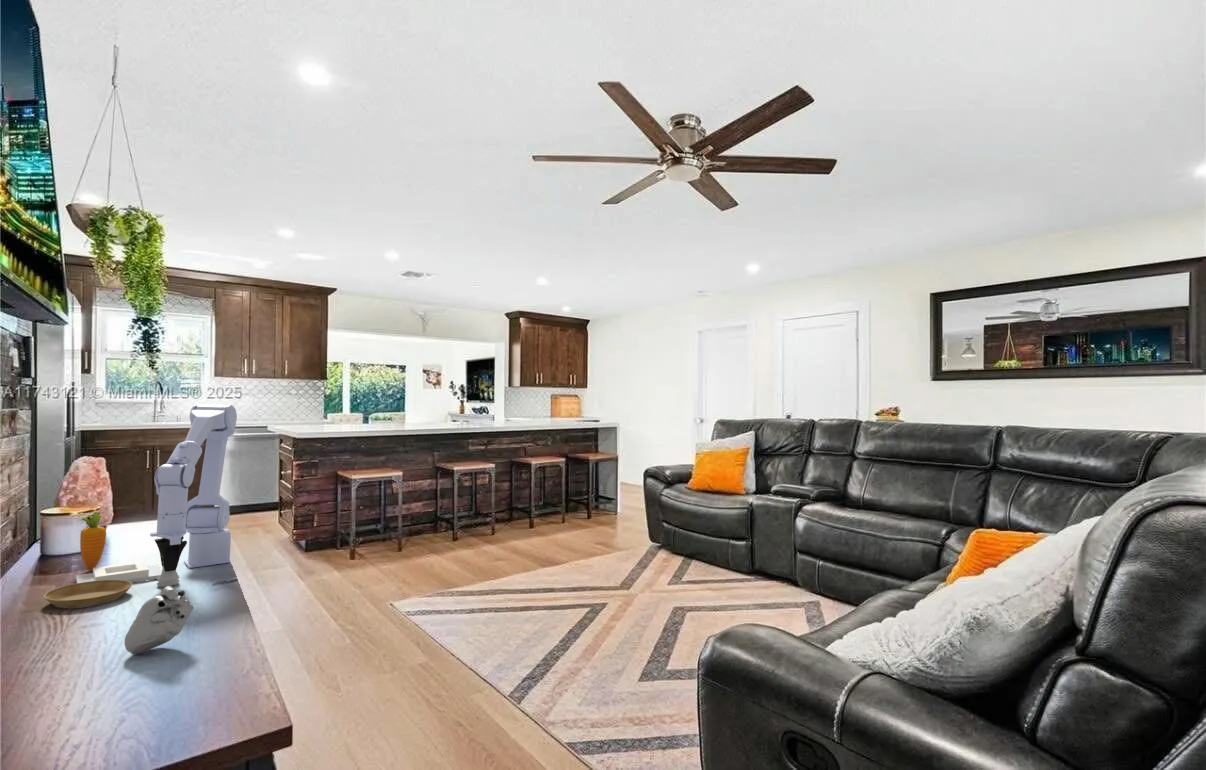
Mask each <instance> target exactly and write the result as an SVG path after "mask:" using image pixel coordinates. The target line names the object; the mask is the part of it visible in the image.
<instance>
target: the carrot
mask: <svg viewBox="0 0 1206 770" xmlns="http://www.w3.org/2000/svg"><path fill="white" fill-rule="evenodd" d="M101 519H102V515H101V514H99V512H96V511H95V512H93V515H91V516H89V519H88V518H87V517H82V518H81V520H82V521H85V523H87V524H88V527H85V528H83V529H82V530H80V533H79V534H80V537H79V538H80V539H79V540H80V541H79V547H80V554H81V559H82V562H83V564H84V566H85V567H86V569H87V570H88V571H90V572H93V568H96V567H97V565H98V564H99V562H100V559H101V558H102V555H103V551H104V548H105V543H106V535H107V529H106V528H105V527H104V526H100V525H98V524H99V522H100V520H101Z"/></svg>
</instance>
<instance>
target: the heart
mask: <svg viewBox="0 0 1206 770" xmlns="http://www.w3.org/2000/svg"><path fill="white" fill-rule="evenodd" d="M194 609H195V607H194V605H193V604H192V603H191V601H190V599H188V597H186V591H185V590H183V589H182V590H179V591H176V589H175V588H174V586H168V587H163V589H162V591H161V592H160V594H159V595H155V596H154V597H152V598H150V599H148V600H146V601H144V603H143V604H142V606H141V608H140V609H139V610H138V613H137V615H136V617H135V619H134V620H133V621H132V624H131V625H130V627H129V629H128V631H127V633H126V635H125V637H124V647H125V650H126V651H127V653H130V654H131V655H138V654H141V653H144V652H147V651H150V650H152V649H155V648H157V647H159V646H161V645H164V644H166V643H168V642H170V641H171V640H172V639H174V638H175V637H177V636H178V635H179V634H180V633H181V632H182V630H183V628H184V627H185V624H186V622H187V619H188V617H189V616H190V613H191V612H192V611H193V610H194ZM168 650H169V649H168Z"/></svg>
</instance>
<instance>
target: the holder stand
mask: <svg viewBox="0 0 1206 770" xmlns="http://www.w3.org/2000/svg"><path fill="white" fill-rule="evenodd" d="M161 573H162V569H161V567H160V566H159V564H150V565H147V564H146V561H145V560H144V561H143V560H142V561H135V562H128V563H121V564H120V563H119V564H114V565H113V564H112V565H105V566H96V567H95V568H93V570H92V572H91V573H81V574H76V578H75V579H76V580H75V581H76V584H77V583H82V582H89V581H98V580H125V581H129V582H131V583H132V584H135V583H134V582H137V583H141V582H140V581H143V582H147V581H146V580H150V581H155V580H154V579H157V580H158V578H159V577H160V575H161Z"/></svg>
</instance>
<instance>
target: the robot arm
mask: <svg viewBox="0 0 1206 770" xmlns="http://www.w3.org/2000/svg"><path fill="white" fill-rule="evenodd" d="M237 417H238V414H237V409H236V408H235V406H234V405H233V404H200V403H196V404H194V405H193V406H192V407H191V408H190V412H189V420H190V425H191V426H190V427H189V430H188V432H187V435H186V437H185V439H184V441H181V442H179V443H178V444H176V446H175V448H174V449H173V452H172V453H171V455H170V457H169V458H168V460H167V461H166V463H164V464H162V465H160V466H159V467H157V469H156V471H155V474H154V478H153V479H154V485H155V487H156V488H155V489H156V496H158V504H157V522H156V531H153V532H152V531H151V532H150V533H149V536H150V537H157V538H156V539H154V542H155V544H156V545H157V548H158V552H159V557H160V564H161V567H162V568H163V565H164V570H165V572H168V571H175V570H176V571H177V568H178V565H179V562H180V557H181V555H182V552H183V551H184V549H185V547H186V545H188V554H187V555H188V557H187V559H185V560H184V561H183V562H184V564H185V565H186V566H187V568H189V569H191V568H199V567H200V568H201V567H207V566H214V565H219V564H226V563H227V564H228V563H230V562H231V560H230V559H231V542H232V541H231V530H230V529H229V528H226V527H227V526H228V524H229V522H230V518H231V517H230V516H231V514H230V502H229V501H228V500H227V499H226V498H225V497H223V496H222V495H221V494H220V493H221V486H222V485H221V484H222V477H223V471H224V466H225V465H224V464H225V457H226V451H227V444H228V440H229V437H231V436H233V435H234V434H235V430H236V427H237V426H236V425H237ZM205 440H206V443H205V449H204V454H203V455H204V456H203V463H202V469H201V475H200V476H201V477H200V482H199V489H198V495H197V496H194V497H193V498H192V499H190V500H189V501H188V496H189V487H190V486H191V485H192V483H193V482H194V478H195V473H196V467H195V466H196V465H197V463H198V461H199V459H200V457H201V455H202V453H203V449H202V447H201V446H202V444H203V443H204V441H205ZM187 533H189V540H188V541H187V540H184V536H185V535H186V534H187ZM162 557H163V558H162ZM229 561H230V562H229ZM162 562H163V563H162Z"/></svg>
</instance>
